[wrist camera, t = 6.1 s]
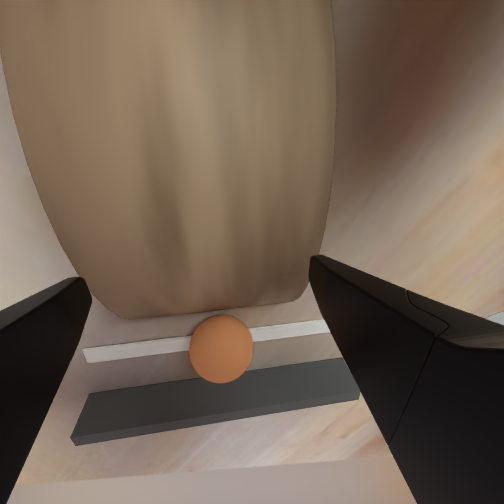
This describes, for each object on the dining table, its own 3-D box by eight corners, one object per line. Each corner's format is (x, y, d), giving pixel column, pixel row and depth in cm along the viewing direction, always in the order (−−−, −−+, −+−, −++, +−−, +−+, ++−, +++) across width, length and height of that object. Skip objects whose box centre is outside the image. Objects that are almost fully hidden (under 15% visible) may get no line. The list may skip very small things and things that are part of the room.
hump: (247, 14, 24) (407, -430, 4) (252, 231, 34) (307, 379, 15) (135, 12, 23) (-298, -605, 3) (175, 237, 33) (127, 406, 14)
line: (338, 317, 19) (339, 319, 19) (336, 329, 20) (337, 331, 20) (83, 348, 17) (82, 350, 17) (89, 361, 18) (87, 363, 17)
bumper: (342, 357, 21) (360, 391, 19) (340, 365, 22) (358, 399, 19) (89, 393, 19) (70, 437, 16) (93, 401, 20) (75, 445, 17)
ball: (257, 396, 15) (257, 338, 14) (187, 402, 14) (181, 343, 13) (250, 350, 19) (250, 301, 17) (194, 354, 18) (191, 304, 17)
